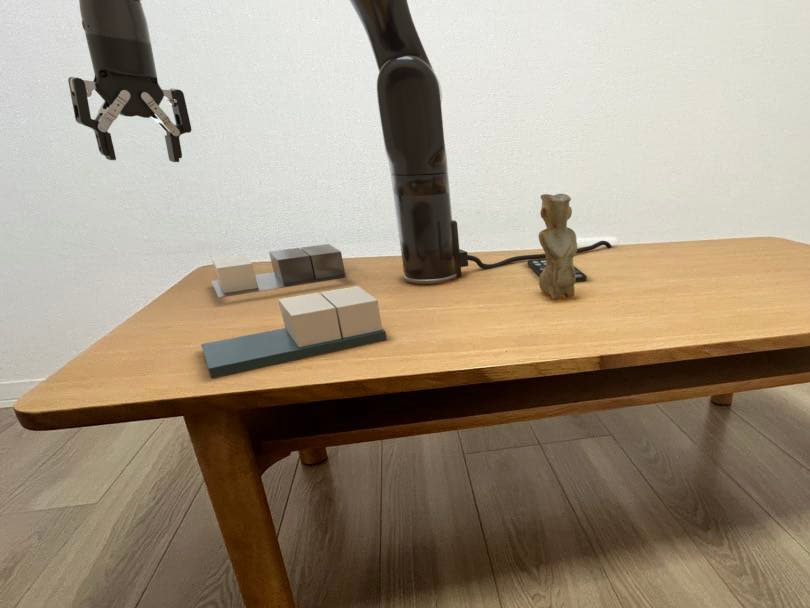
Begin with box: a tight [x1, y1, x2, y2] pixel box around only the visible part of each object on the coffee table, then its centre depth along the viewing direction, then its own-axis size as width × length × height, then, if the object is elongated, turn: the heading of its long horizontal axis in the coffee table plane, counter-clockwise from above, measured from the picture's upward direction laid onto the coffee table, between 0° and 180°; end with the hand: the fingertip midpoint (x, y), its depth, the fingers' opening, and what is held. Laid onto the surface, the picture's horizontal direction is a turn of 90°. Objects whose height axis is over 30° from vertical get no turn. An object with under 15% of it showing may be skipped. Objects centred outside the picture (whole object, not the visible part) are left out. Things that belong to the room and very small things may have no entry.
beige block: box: [211, 254, 258, 293], centre depth 88 cm, size 5×8×4 cm, turn 34°
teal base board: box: [200, 285, 388, 379], centre depth 66 cm, size 20×9×5 cm, turn 124°
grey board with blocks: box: [210, 243, 349, 299], centre depth 92 cm, size 20×12×5 cm, turn 124°
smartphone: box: [526, 259, 588, 282], centre depth 98 cm, size 7×1×15 cm
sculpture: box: [538, 193, 578, 300], centre depth 82 cm, size 6×7×15 cm
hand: (144, 160), depth 84 cm, fingers open, 8 cm apart
